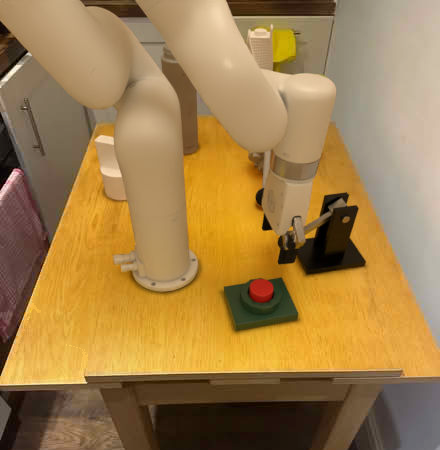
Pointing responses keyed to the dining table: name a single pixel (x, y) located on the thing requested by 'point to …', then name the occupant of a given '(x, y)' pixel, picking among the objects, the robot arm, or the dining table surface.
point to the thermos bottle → (182, 99)
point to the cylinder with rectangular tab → (110, 168)
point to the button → (261, 290)
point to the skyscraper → (261, 47)
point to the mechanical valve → (261, 169)
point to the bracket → (332, 240)
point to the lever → (315, 221)
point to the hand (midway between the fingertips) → (277, 245)
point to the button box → (259, 306)
